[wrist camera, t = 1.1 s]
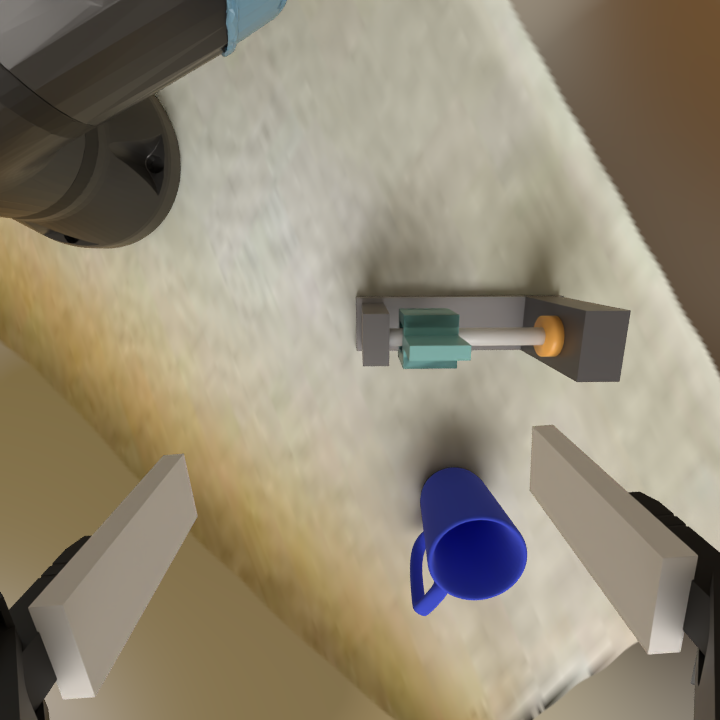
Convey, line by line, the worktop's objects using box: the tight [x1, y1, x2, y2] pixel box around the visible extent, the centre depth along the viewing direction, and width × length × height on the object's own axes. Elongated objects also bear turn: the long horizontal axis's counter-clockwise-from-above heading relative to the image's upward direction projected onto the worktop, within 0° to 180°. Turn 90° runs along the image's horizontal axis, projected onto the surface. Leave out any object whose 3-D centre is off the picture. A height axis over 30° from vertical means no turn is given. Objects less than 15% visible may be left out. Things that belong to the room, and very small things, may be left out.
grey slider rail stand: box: [356, 295, 631, 382], centre depth 33 cm, size 19×5×11 cm, turn 90°
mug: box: [410, 467, 527, 616], centre depth 39 cm, size 8×12×10 cm
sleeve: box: [398, 308, 471, 369], centre depth 30 cm, size 4×4×8 cm
